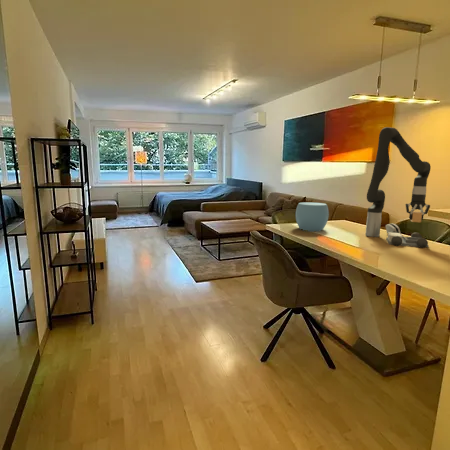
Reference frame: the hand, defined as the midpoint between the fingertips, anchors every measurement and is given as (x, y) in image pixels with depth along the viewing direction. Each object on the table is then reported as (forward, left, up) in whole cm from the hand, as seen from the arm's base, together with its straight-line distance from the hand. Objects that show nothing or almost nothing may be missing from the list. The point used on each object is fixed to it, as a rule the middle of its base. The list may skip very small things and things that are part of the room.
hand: (415, 220), depth 208 cm
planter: (-67, +25, -16) cm, 73 cm away
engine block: (0, 0, -1) cm, 1 cm away
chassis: (-4, 0, -16) cm, 16 cm away
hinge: (-9, +25, -16) cm, 31 cm away
